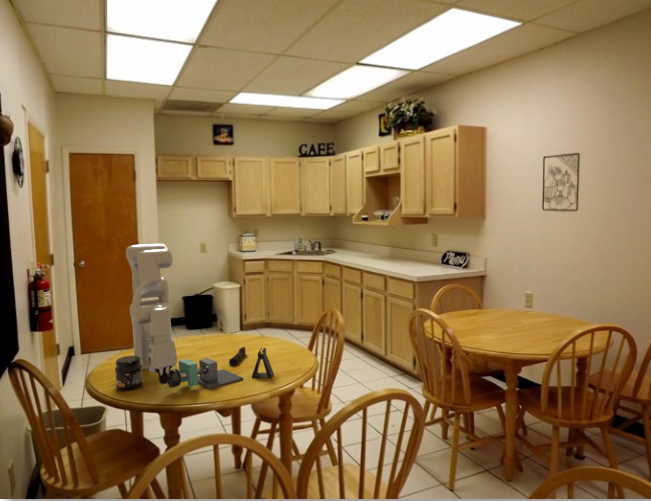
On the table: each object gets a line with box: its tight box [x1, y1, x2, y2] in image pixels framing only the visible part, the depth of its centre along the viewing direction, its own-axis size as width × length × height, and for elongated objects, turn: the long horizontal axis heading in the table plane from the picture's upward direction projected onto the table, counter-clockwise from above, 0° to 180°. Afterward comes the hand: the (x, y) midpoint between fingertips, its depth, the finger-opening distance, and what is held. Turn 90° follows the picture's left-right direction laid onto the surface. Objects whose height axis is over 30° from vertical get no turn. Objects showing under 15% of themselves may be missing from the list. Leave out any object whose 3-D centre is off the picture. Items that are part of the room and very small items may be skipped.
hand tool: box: [228, 346, 246, 367], centre depth 231 cm, size 19×4×5 cm, turn 170°
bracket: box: [198, 357, 219, 384], centre depth 201 cm, size 8×4×8 cm, turn 44°
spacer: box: [178, 358, 199, 388], centre depth 194 cm, size 9×4×9 cm, turn 44°
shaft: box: [166, 367, 206, 389], centre depth 195 cm, size 7×19×7 cm, turn 134°
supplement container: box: [114, 355, 144, 392], centre depth 197 cm, size 10×10×12 cm
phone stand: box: [251, 347, 274, 379], centre depth 208 cm, size 9×6×12 cm, turn 88°
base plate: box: [198, 368, 244, 391], centre depth 204 cm, size 16×16×1 cm
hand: (163, 383), depth 187 cm, fingers closed
